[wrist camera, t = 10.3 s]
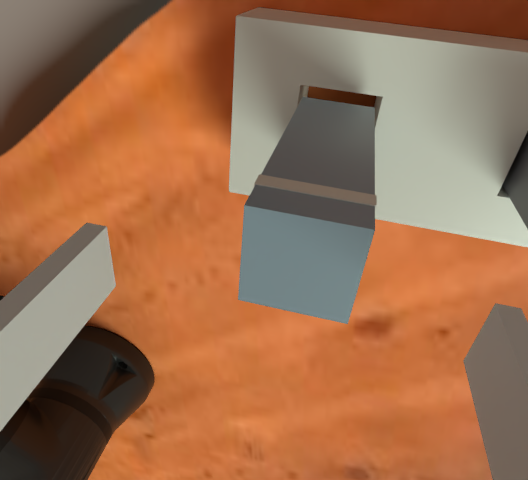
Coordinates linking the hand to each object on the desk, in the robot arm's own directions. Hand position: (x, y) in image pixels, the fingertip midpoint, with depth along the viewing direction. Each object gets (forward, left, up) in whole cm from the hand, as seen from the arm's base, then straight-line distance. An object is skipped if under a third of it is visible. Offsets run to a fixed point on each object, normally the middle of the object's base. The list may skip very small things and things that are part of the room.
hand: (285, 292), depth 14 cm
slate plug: (0, 0, -15) cm, 15 cm away
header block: (+7, 0, -22) cm, 23 cm away
